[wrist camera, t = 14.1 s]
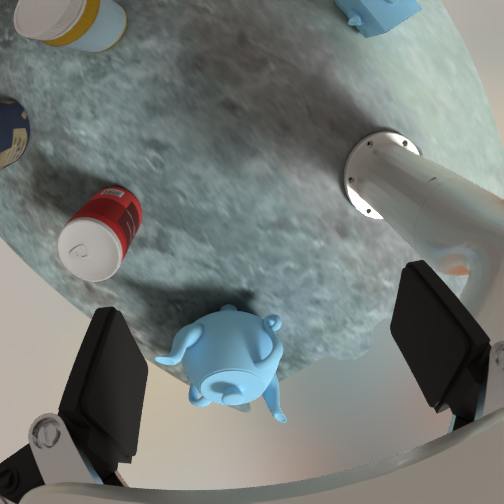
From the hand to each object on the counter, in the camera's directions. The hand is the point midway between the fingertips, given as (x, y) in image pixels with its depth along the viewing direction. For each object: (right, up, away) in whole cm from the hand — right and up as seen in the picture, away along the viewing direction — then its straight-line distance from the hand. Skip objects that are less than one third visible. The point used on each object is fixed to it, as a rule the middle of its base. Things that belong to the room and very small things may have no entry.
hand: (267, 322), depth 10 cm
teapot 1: (-5, -11, +42) cm, 43 cm away
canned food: (-19, +8, +29) cm, 35 cm away
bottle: (-19, +29, +16) cm, 38 cm away
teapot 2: (+13, +32, +18) cm, 39 cm away
